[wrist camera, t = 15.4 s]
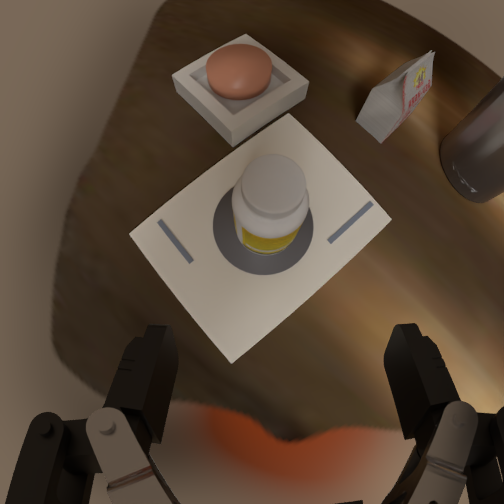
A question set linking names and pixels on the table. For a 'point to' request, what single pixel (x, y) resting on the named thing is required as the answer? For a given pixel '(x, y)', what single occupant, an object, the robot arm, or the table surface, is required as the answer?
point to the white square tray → (241, 111)
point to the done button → (239, 71)
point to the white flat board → (243, 260)
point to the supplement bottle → (269, 204)
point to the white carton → (396, 97)
